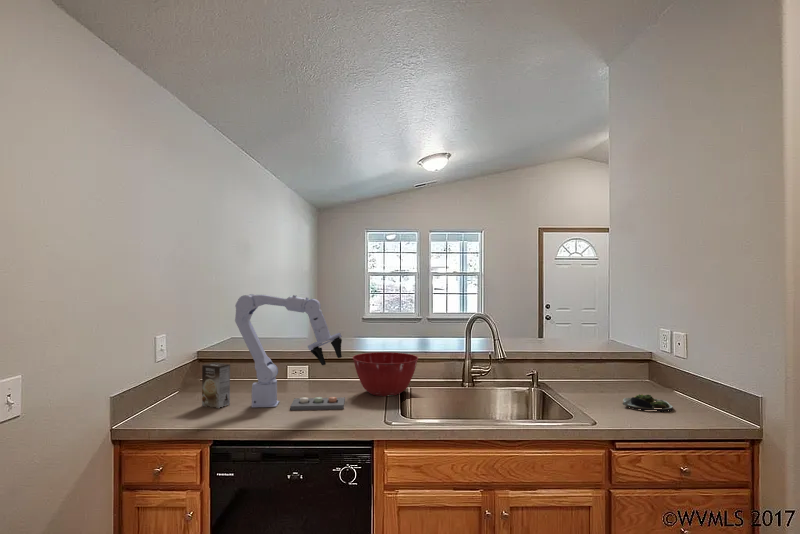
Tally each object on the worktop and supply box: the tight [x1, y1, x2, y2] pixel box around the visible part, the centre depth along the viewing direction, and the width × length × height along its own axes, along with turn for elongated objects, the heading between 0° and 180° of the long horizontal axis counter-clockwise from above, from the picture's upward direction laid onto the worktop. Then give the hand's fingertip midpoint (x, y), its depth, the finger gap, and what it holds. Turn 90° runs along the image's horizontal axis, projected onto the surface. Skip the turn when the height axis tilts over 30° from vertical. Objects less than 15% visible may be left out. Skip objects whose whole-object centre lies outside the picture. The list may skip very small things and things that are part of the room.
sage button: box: [313, 396, 324, 403], centre depth 202 cm, size 3×3×2 cm
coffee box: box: [201, 362, 231, 409], centre depth 202 cm, size 9×6×16 cm
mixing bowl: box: [352, 351, 419, 397], centre depth 223 cm, size 28×28×16 cm
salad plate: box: [622, 393, 674, 411], centre depth 201 cm, size 19×18×5 cm
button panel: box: [289, 397, 346, 411], centre depth 202 cm, size 20×12×2 cm, turn 94°
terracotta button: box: [328, 396, 338, 403], centre depth 202 cm, size 3×3×2 cm
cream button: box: [299, 396, 309, 403], centre depth 201 cm, size 3×3×2 cm
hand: (332, 361), depth 203 cm, fingers open, 7 cm apart
